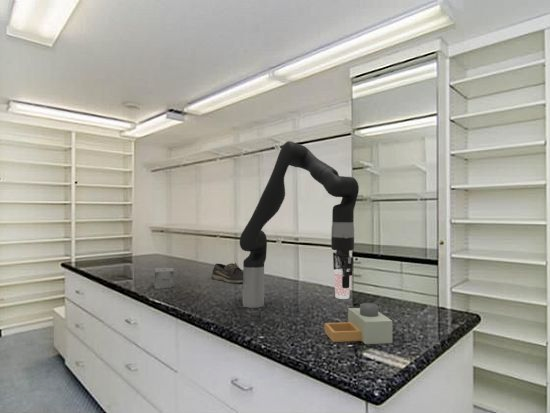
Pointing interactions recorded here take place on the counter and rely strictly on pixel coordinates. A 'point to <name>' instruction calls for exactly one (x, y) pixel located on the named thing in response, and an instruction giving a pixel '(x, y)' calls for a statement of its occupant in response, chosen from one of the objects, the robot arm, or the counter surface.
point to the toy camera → (362, 326)
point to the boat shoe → (228, 273)
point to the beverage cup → (340, 285)
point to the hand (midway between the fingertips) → (342, 285)
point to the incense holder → (164, 278)
